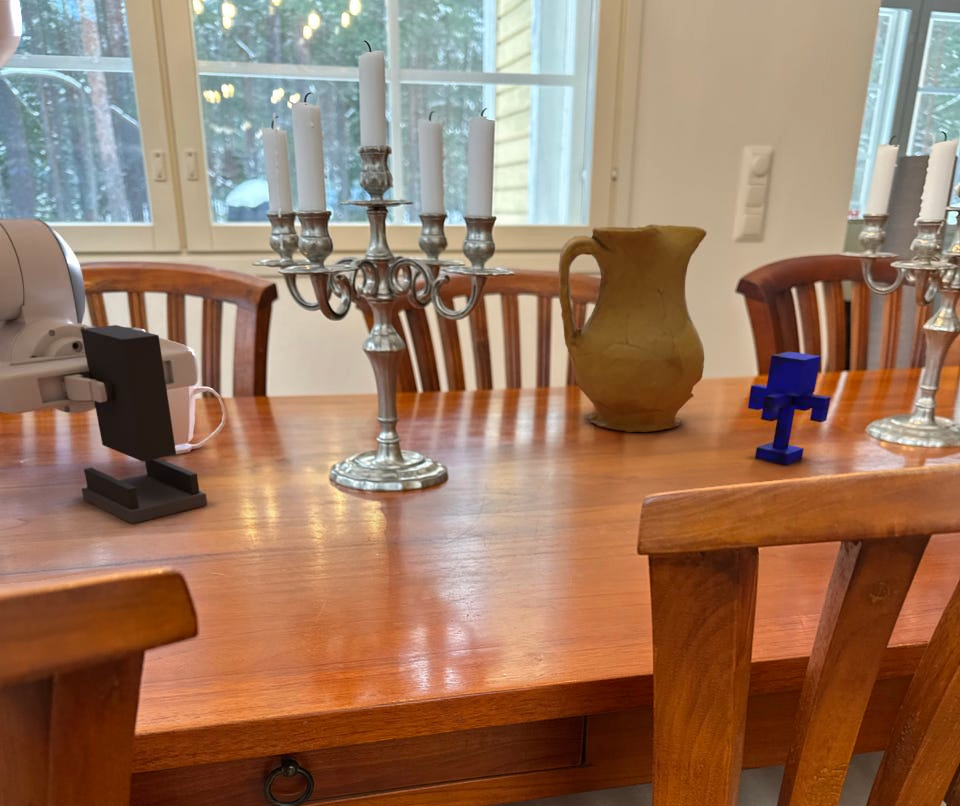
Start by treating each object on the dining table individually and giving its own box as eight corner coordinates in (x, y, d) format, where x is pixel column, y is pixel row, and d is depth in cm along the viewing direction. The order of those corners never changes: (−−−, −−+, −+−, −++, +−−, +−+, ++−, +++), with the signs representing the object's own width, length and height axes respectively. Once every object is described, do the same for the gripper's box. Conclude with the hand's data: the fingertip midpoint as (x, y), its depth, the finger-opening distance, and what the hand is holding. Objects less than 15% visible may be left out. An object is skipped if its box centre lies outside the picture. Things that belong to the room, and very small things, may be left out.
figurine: (799, 451, 111) (818, 350, 106) (819, 468, 104) (841, 362, 99) (738, 449, 111) (754, 349, 106) (755, 467, 104) (773, 360, 99)
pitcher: (672, 441, 112) (688, 221, 102) (541, 427, 121) (544, 225, 111) (716, 419, 126) (734, 222, 115) (595, 408, 135) (602, 225, 125)
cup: (140, 444, 108) (129, 376, 105) (225, 438, 112) (217, 371, 108) (145, 460, 102) (133, 388, 99) (233, 452, 106) (226, 383, 102)
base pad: (132, 524, 84) (126, 491, 82) (83, 499, 90) (77, 468, 88) (207, 505, 89) (203, 473, 87) (156, 483, 95) (152, 453, 93)
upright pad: (142, 462, 83) (122, 339, 78) (102, 445, 88) (80, 328, 83) (176, 454, 86) (158, 335, 81) (135, 438, 91) (116, 324, 85)
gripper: (-49, 347, 84) (11, 368, 76) (152, 325, 97) (222, 341, 89) (-32, 414, 87) (28, 442, 78) (161, 384, 100) (230, 405, 92)
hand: (133, 388), depth 84 cm, fingers closed on upright pad, 3 cm apart
